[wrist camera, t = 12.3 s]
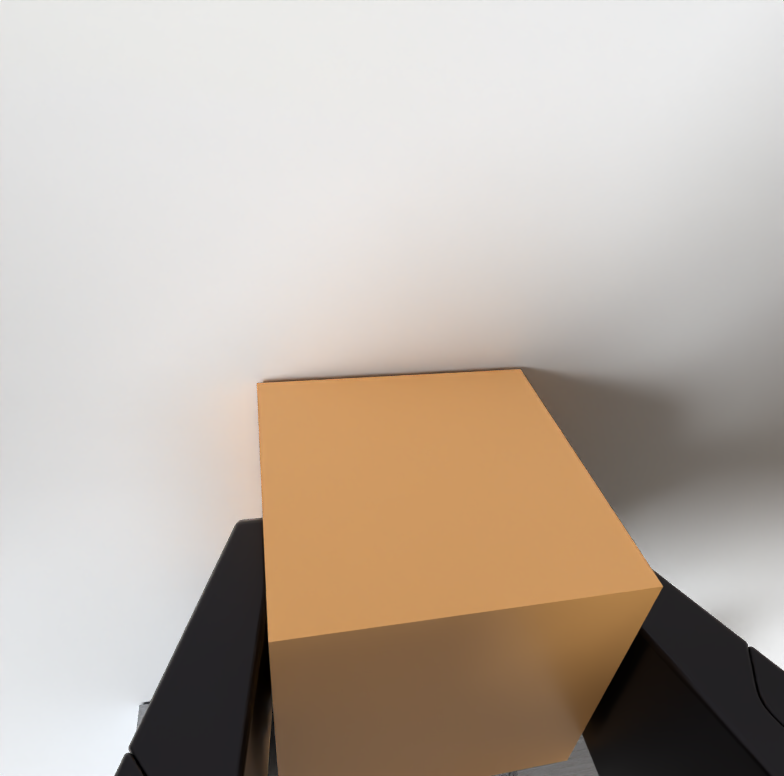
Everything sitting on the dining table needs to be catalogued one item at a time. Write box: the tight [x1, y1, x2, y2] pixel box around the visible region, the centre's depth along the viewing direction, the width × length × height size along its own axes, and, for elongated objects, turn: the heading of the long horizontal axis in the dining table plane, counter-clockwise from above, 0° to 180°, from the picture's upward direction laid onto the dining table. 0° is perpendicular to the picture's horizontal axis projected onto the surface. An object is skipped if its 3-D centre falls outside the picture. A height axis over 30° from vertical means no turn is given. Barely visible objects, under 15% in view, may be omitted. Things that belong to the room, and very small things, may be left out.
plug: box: [257, 369, 663, 776], centre depth 11 cm, size 14×4×4 cm, turn 175°
